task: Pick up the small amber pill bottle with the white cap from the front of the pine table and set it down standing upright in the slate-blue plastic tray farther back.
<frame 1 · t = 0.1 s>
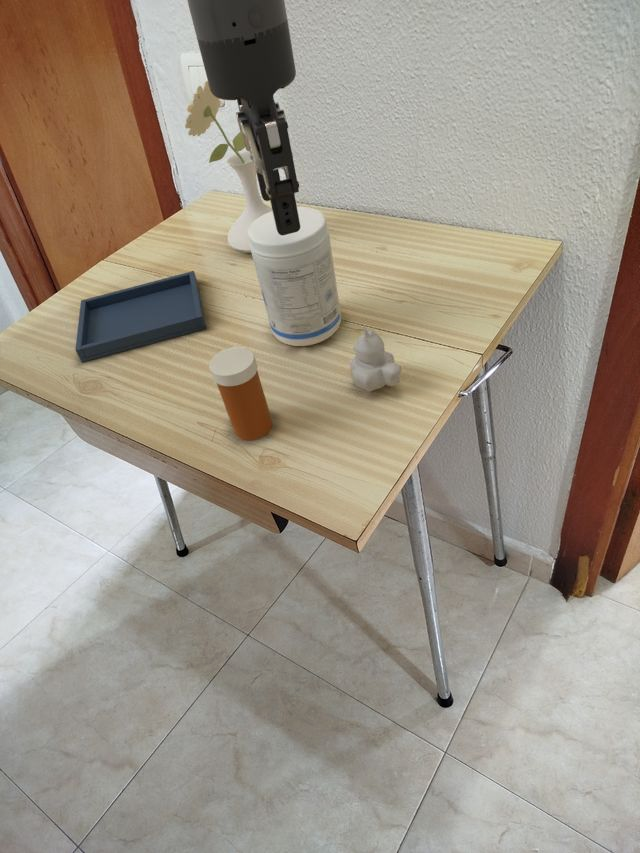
hand: (280, 214, 59), 20 cm above the table, tool pointing down, fingers open, 8 cm apart
grey figurine: (377, 386, 68), on the table
supplement tub: (307, 328, 79), on the table
flower in vase: (259, 245, 98), on the table
pill bottle: (253, 426, 66), on the table
tray: (143, 319, 86), on the table
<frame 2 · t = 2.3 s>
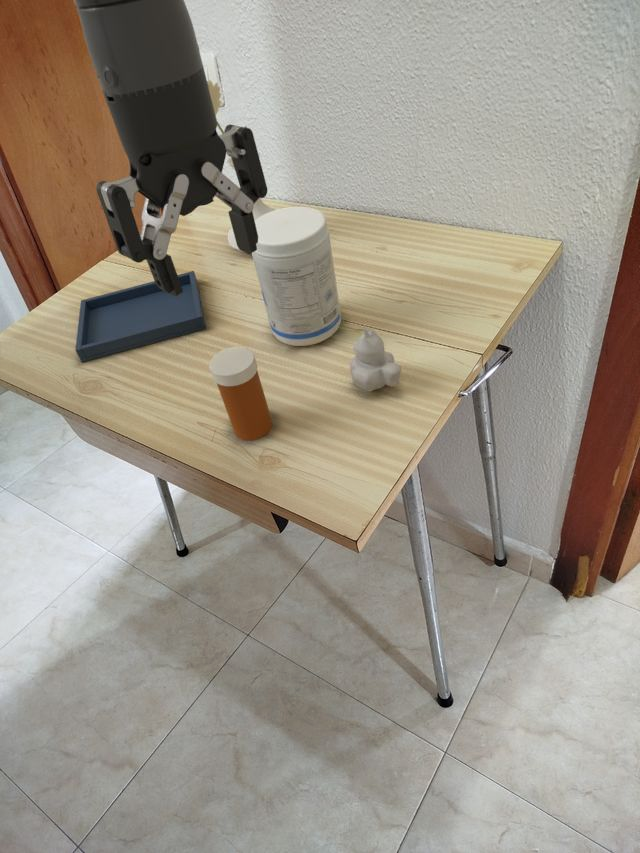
hand: (212, 270, 54), 19 cm above the table, tool pointing down, fingers open, 8 cm apart
nothing on the table moved.
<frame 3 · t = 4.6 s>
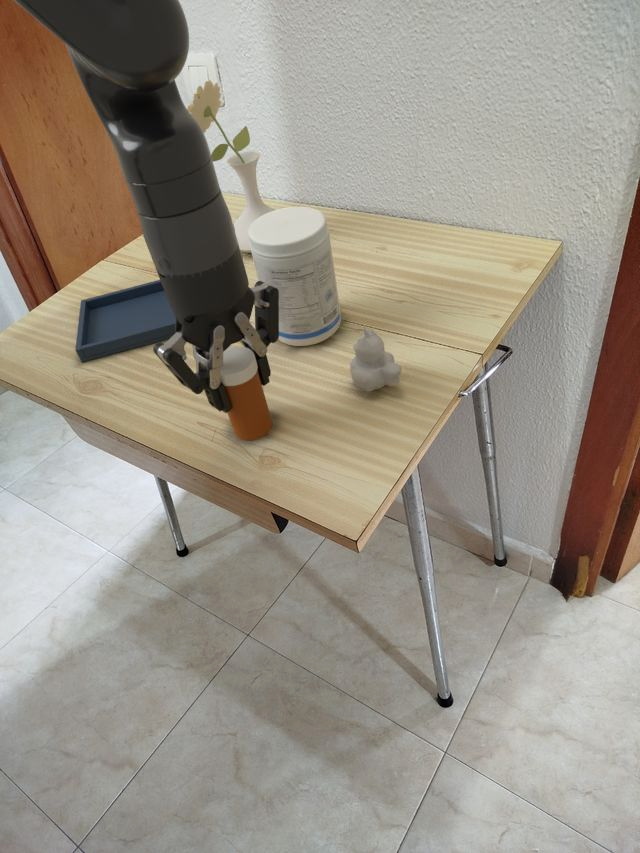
hand: (242, 394, 63), 5 cm above the table, tool pointing down, fingers closed on pill bottle, 4 cm apart
pill bottle: (253, 426, 66), on the table, touching gripper
everything else where it was.
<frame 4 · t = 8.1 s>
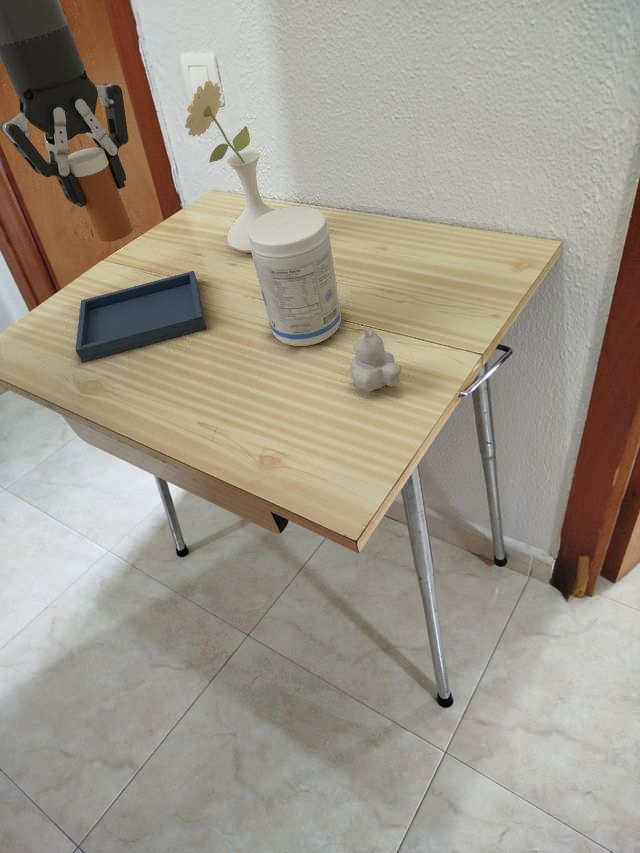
hand: (99, 195, 70), 20 cm above the table, tool pointing down, fingers closed on pill bottle, 4 cm apart
pill bottle: (116, 233, 74), point 15 cm above the table, touching gripper
everything else where it was.
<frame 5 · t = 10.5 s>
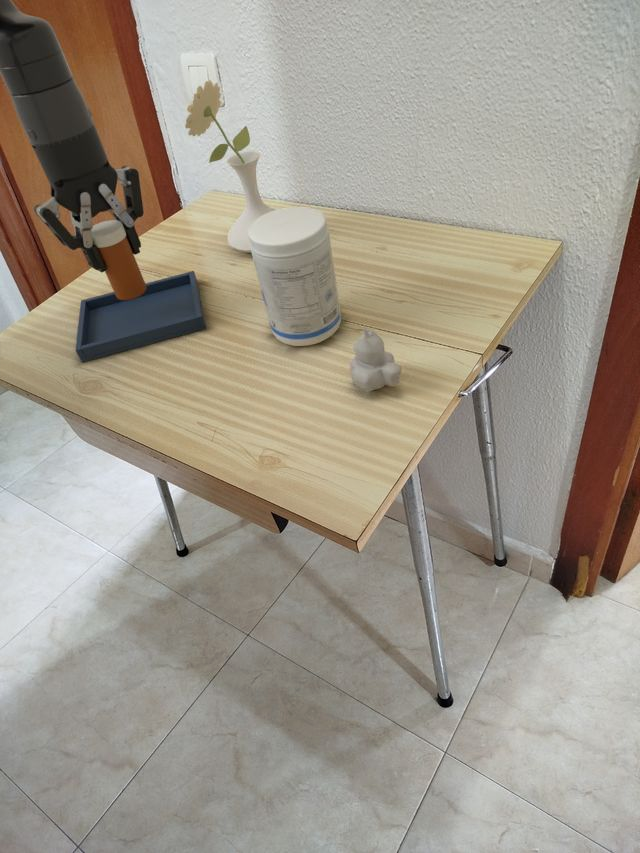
hand: (118, 260, 80), 10 cm above the table, tool pointing down, fingers closed on pill bottle, 4 cm apart
pill bottle: (131, 291, 83), point 5 cm above the table, touching gripper
everything else where it was.
when the fingers open (5 cm above the table, at t = 12.0 s): pill bottle stays where it is, resting on tray.
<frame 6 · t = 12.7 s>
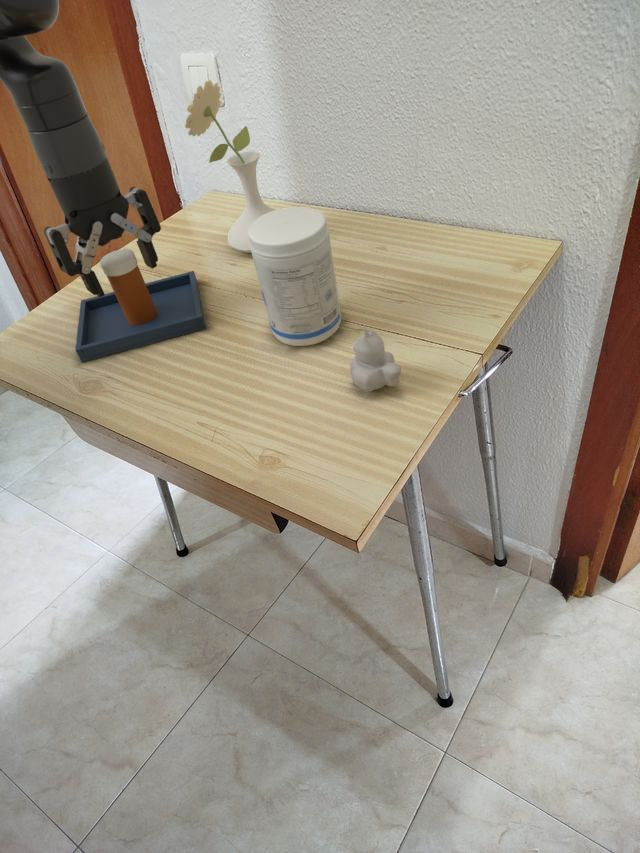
hand: (126, 280, 82), 7 cm above the table, tool pointing down, fingers open, 8 cm apart
pill bottle: (142, 316, 86), point 1 cm above the table, touching tray
everything else where it was.
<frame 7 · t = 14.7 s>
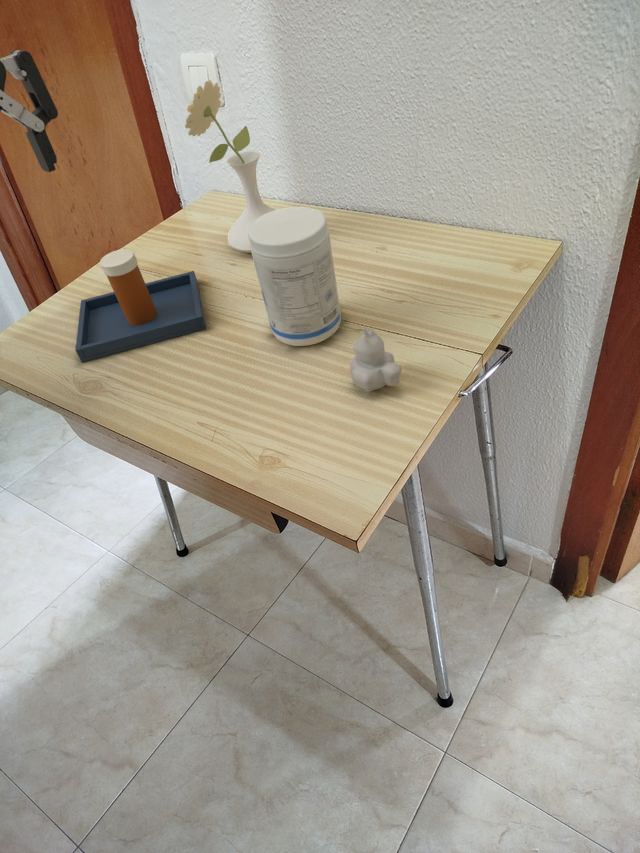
hand: (10, 185, 60), 25 cm above the table, tool pointing down, fingers open, 8 cm apart
nothing on the table moved.
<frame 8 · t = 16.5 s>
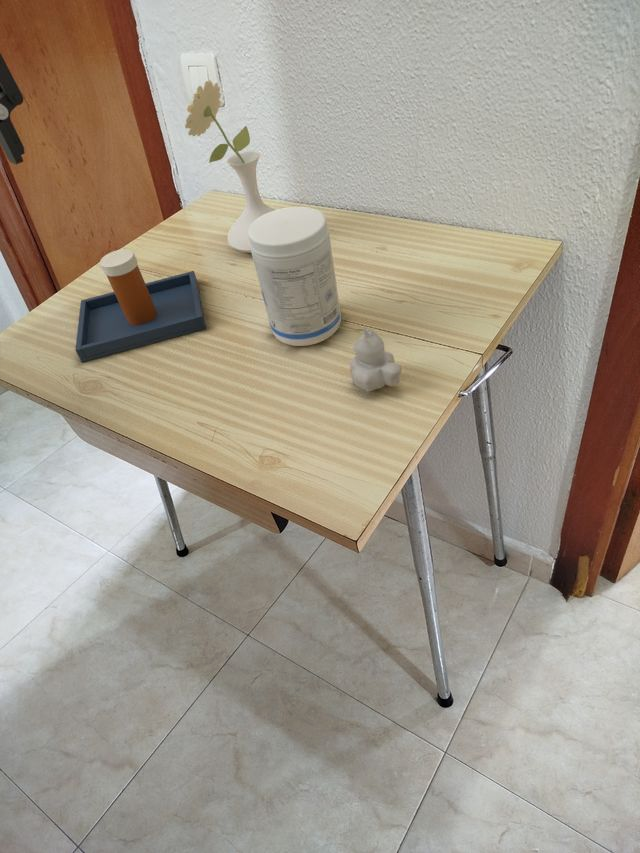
nothing on the table moved.
at the end: pill bottle inside the target area in the tray (0.0 cm from its centre), point 0.6 cm above the tray's base; pill bottle tilted 0°; the gripper is holding nothing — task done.
